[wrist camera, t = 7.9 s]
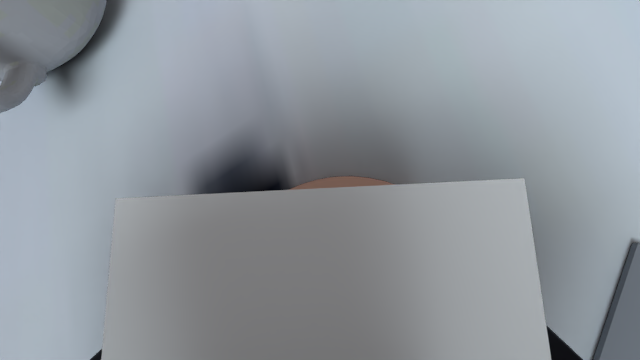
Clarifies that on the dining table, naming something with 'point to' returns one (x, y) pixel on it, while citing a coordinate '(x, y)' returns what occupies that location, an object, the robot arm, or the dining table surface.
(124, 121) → the dining table surface
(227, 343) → the white block
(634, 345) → the mat
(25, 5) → the teacup
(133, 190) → the dining table surface
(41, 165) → the dining table surface
